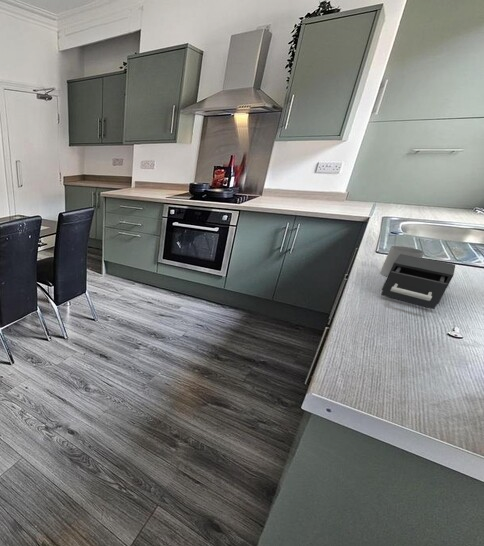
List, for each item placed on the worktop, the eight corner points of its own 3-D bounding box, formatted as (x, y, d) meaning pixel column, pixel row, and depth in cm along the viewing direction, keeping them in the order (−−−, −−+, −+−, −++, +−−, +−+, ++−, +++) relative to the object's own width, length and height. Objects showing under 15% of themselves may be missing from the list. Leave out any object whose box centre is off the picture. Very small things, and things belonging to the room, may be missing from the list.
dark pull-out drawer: (432, 315, 85) (446, 290, 82) (377, 300, 93) (387, 276, 90) (437, 296, 96) (449, 273, 93) (387, 284, 104) (397, 262, 101)
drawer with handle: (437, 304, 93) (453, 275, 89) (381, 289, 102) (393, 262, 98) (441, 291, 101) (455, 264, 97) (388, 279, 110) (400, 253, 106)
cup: (408, 282, 108) (421, 255, 104) (377, 274, 114) (388, 248, 110) (413, 276, 112) (426, 250, 108) (383, 269, 118) (394, 244, 115)
